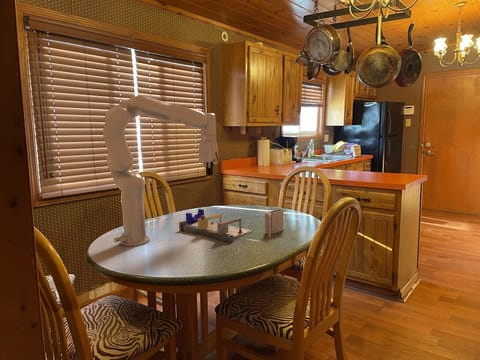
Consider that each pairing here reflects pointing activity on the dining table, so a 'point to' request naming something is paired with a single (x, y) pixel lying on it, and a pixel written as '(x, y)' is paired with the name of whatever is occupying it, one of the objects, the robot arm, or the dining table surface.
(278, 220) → the hinge
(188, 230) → the rail
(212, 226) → the bolt plate
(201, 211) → the cable clip
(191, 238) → the dining table surface
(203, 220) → the sliding leg
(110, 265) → the dining table surface
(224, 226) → the fixed leg
